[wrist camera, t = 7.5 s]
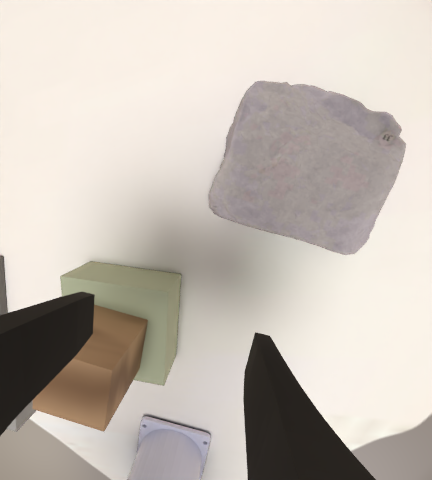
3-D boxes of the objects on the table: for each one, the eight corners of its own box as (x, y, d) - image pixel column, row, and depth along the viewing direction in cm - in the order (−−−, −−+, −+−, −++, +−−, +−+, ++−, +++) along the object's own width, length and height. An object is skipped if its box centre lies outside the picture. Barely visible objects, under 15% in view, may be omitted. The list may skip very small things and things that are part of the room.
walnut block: (139, 368, 19) (104, 431, 14) (85, 352, 19) (32, 408, 14) (147, 319, 17) (112, 370, 13) (90, 303, 18) (33, 346, 13)
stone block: (237, 100, 18) (205, 217, 19) (243, 53, 13) (199, 213, 14) (377, 138, 18) (340, 254, 18) (434, 105, 13) (381, 264, 14)
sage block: (177, 352, 23) (164, 385, 19) (96, 338, 24) (68, 367, 20) (182, 272, 21) (168, 292, 17) (93, 260, 21) (60, 276, 17)
